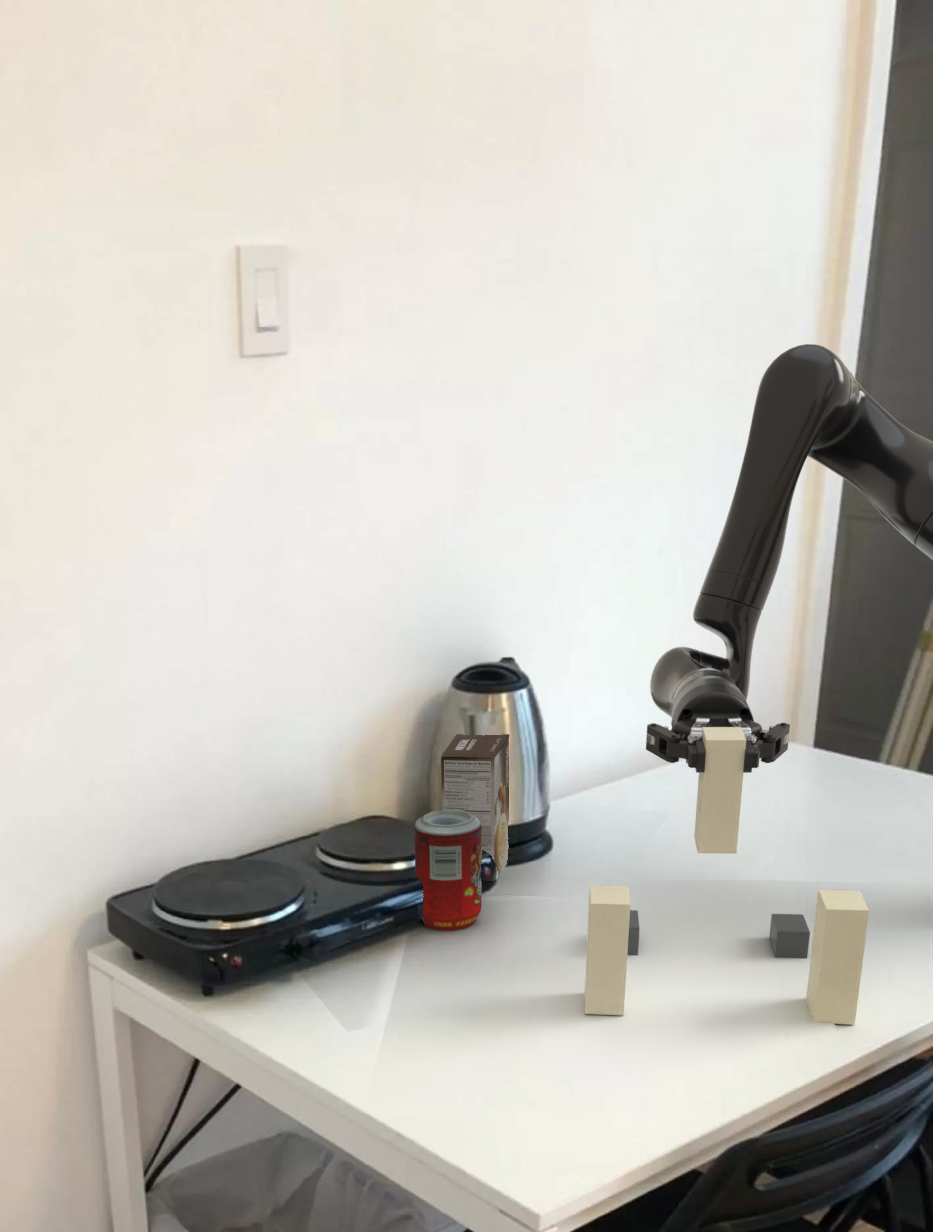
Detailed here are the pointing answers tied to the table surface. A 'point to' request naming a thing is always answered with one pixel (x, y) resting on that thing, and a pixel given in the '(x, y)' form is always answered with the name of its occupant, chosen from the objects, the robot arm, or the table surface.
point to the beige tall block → (837, 956)
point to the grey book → (633, 933)
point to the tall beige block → (720, 790)
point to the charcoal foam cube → (789, 936)
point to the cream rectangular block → (607, 949)
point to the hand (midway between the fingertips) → (725, 762)
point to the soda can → (449, 868)
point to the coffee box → (480, 787)
